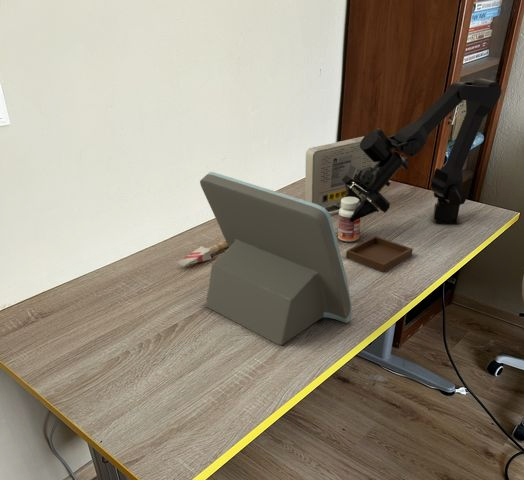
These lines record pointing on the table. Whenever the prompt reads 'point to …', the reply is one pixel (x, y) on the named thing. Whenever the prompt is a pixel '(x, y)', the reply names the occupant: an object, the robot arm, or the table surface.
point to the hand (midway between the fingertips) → (345, 216)
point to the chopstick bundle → (202, 254)
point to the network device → (332, 171)
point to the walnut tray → (379, 253)
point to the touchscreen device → (274, 260)
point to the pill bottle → (345, 226)
